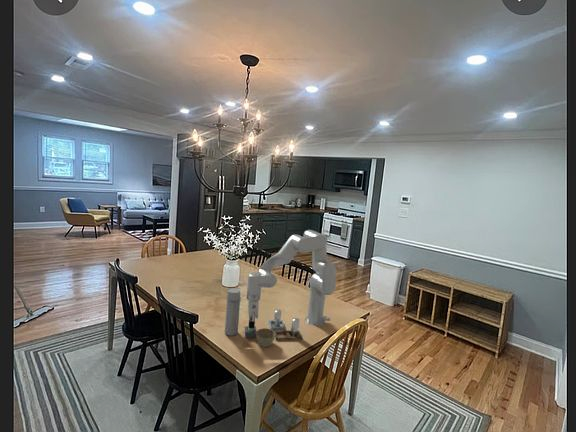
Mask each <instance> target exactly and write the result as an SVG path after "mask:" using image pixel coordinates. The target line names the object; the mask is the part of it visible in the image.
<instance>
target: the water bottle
mask: <svg viewBox="0 0 576 432" xmlns="http://www.w3.org/2000/svg"><path fill="white" fill-rule="evenodd" d="M226 295H227V296H226V305H225V306H226V308H225V309H226V310H225V320H224V321H225V322H224V323H225V324H224V333H225V335H227V336H230V337H231V336H235V335H237V334H238V332H239V320H240V307H241V306H240V305H241V302H242V298H241V290H240V289H239V288H234V287H232V288H228V289H227V294H226Z"/></svg>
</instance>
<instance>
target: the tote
mask: <svg viewBox="0 0 576 432" xmlns="http://www.w3.org/2000/svg"><path fill="white" fill-rule="evenodd" d="M273 323H274V319H273V320H272V319H269V320H268V324H269V329H271V330H273V331H286V330H285V328H286V326H285V323H284V321H283V320H282V319H281V321H280V324H281V326H280V327H274V326H272V324H273Z"/></svg>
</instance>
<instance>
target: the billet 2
mask: <svg viewBox="0 0 576 432" xmlns="http://www.w3.org/2000/svg"><path fill="white" fill-rule="evenodd" d="M299 325H300V318H297V317H293V318H291V327H290V331H291V335H290V336H291V337H298V330H299Z"/></svg>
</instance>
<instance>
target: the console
mask: <svg viewBox="0 0 576 432" xmlns="http://www.w3.org/2000/svg"><path fill="white" fill-rule="evenodd" d="M248 327H249V325H248V326H244V338H245V339H257V337H256V332H257V326H256V325H255V327H254V330H253V331H248Z"/></svg>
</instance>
